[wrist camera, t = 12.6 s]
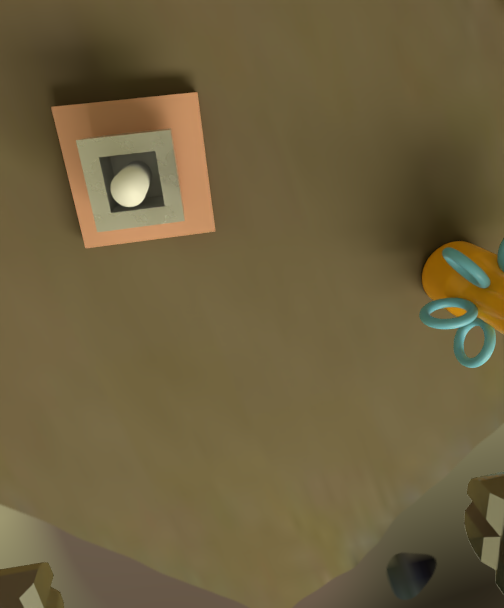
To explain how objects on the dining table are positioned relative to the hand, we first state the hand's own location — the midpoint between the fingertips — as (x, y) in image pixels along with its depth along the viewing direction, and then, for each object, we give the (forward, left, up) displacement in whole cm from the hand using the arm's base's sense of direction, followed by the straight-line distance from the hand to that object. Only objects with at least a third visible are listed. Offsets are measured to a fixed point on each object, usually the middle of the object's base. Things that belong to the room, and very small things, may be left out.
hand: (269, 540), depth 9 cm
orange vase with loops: (-22, +8, -31) cm, 39 cm away
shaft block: (+4, -4, -31) cm, 32 cm away
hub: (+4, -4, -29) cm, 29 cm away
